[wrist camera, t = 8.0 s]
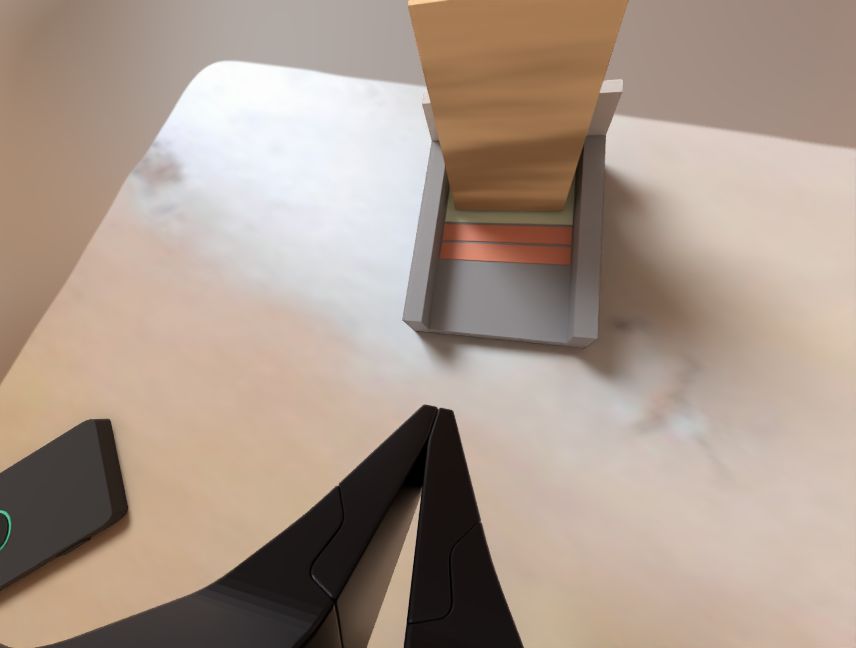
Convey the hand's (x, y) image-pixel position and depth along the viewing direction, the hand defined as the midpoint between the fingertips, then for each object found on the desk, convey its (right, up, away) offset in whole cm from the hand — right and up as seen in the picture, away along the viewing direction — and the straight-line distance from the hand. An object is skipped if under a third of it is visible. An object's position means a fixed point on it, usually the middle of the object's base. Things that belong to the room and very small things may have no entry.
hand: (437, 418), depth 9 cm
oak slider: (+5, +12, +14) cm, 19 cm away
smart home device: (-32, -13, +18) cm, 39 cm away
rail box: (+5, +8, +14) cm, 17 cm away
